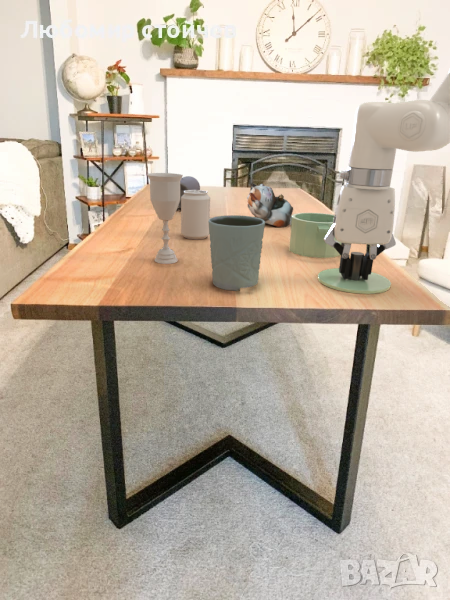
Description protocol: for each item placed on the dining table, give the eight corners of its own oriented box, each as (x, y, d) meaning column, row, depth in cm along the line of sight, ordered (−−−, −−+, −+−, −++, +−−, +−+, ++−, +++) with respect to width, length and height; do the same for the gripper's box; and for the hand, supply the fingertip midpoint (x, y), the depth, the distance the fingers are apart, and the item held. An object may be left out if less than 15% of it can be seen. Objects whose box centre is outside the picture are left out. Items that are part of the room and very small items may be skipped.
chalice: (143, 262, 94) (140, 175, 88) (158, 254, 100) (156, 172, 94) (174, 266, 92) (173, 177, 85) (188, 258, 98) (188, 174, 91)
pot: (334, 244, 115) (338, 211, 112) (349, 264, 98) (354, 226, 95) (285, 242, 115) (288, 209, 112) (292, 262, 98) (296, 224, 95)
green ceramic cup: (267, 291, 80) (272, 225, 76) (212, 293, 78) (214, 226, 74) (252, 273, 89) (256, 214, 85) (203, 275, 87) (204, 214, 83)
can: (177, 239, 114) (177, 191, 110) (185, 232, 121) (185, 188, 117) (206, 241, 113) (207, 193, 109) (211, 234, 120) (213, 189, 116)
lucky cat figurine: (291, 229, 130) (273, 186, 124) (254, 240, 136) (235, 200, 129) (297, 206, 142) (281, 167, 135) (263, 217, 147) (246, 180, 140)
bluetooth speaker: (177, 200, 172) (177, 174, 169) (201, 202, 172) (201, 175, 168) (164, 210, 151) (163, 180, 148) (191, 212, 150) (191, 182, 147)
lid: (378, 275, 92) (383, 245, 89) (399, 298, 79) (406, 265, 77) (312, 272, 92) (315, 243, 90) (323, 295, 79) (327, 262, 77)
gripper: (325, 179, 75) (314, 281, 82) (423, 183, 74) (403, 285, 81) (318, 174, 82) (308, 269, 89) (408, 178, 81) (390, 273, 88)
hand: (354, 276), depth 85 cm, fingers open, 3 cm apart
